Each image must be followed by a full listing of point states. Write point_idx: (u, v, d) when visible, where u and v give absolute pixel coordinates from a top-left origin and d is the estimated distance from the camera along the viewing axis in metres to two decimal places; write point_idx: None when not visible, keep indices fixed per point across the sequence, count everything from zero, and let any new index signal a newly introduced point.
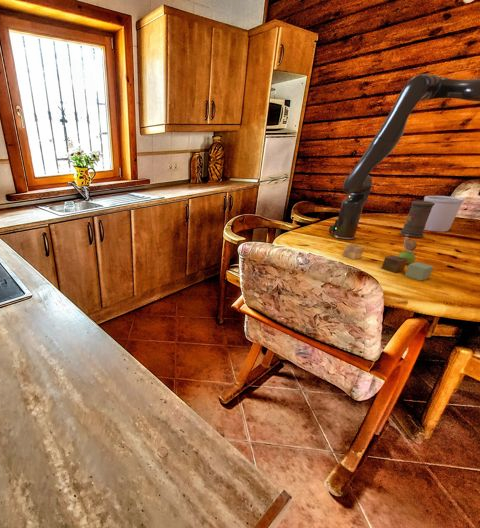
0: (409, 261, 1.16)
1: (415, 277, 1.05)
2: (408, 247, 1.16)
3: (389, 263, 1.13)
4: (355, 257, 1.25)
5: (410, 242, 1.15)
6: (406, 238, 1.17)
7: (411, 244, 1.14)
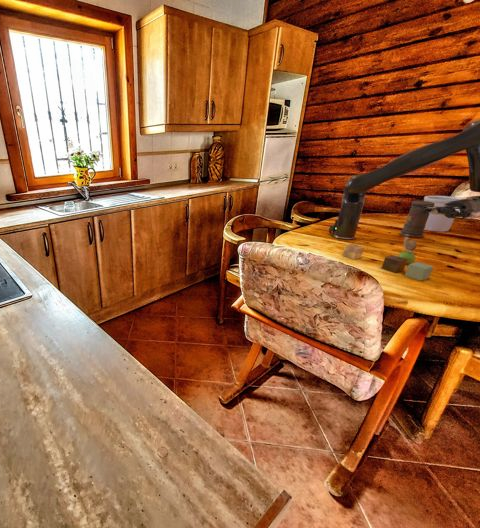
0: (409, 261, 1.16)
1: (415, 277, 1.05)
2: (408, 247, 1.16)
3: (389, 263, 1.13)
4: (355, 257, 1.25)
5: (410, 242, 1.15)
6: (406, 238, 1.17)
7: (411, 244, 1.14)
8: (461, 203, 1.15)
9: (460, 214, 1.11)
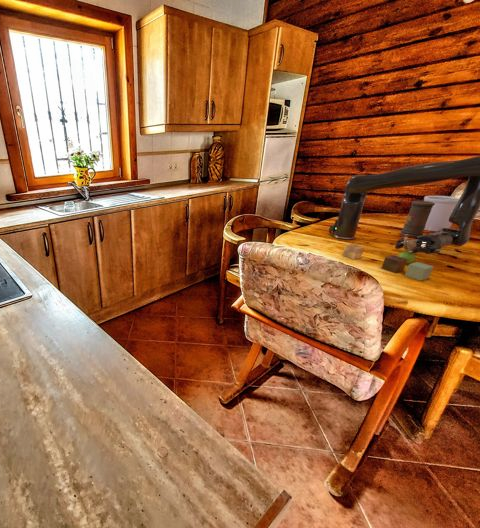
0: (409, 261, 1.16)
1: (415, 277, 1.05)
2: (408, 247, 1.16)
3: (389, 263, 1.13)
4: (355, 257, 1.25)
5: (410, 242, 1.15)
6: (406, 238, 1.17)
7: (411, 244, 1.14)
8: (431, 238, 1.17)
9: (423, 250, 1.13)
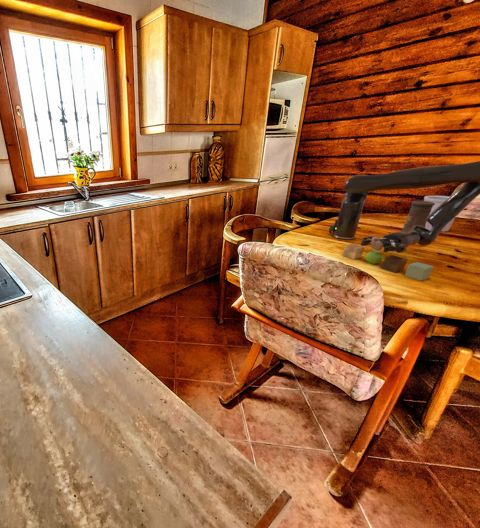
0: (376, 261, 1.17)
1: (415, 277, 1.05)
2: (375, 247, 1.17)
3: (389, 263, 1.13)
4: (355, 257, 1.25)
5: (377, 242, 1.17)
6: (373, 238, 1.19)
7: (377, 244, 1.16)
8: (398, 236, 1.18)
9: (394, 248, 1.14)
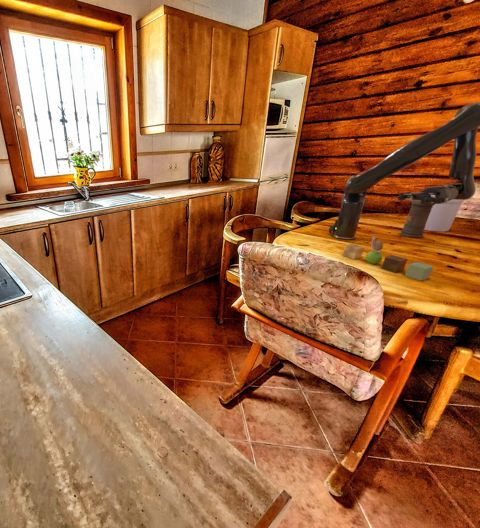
0: (376, 261, 1.17)
1: (415, 277, 1.05)
2: (375, 247, 1.17)
3: (389, 263, 1.13)
4: (355, 257, 1.25)
5: (377, 242, 1.17)
6: (373, 238, 1.19)
7: (378, 244, 1.16)
8: (437, 189, 1.16)
9: (435, 200, 1.11)
